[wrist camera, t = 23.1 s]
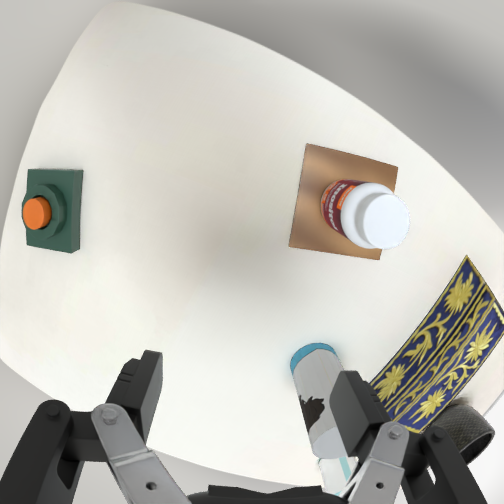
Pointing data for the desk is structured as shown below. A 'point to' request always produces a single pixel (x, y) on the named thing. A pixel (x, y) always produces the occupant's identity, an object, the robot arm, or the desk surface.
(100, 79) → the desk surface
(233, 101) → the desk surface
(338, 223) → the pill bottle
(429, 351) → the decorative box
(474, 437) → the planter
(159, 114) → the desk surface
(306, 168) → the shiny brown mat
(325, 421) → the cup
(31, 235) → the green button base
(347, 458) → the can
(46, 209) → the button
